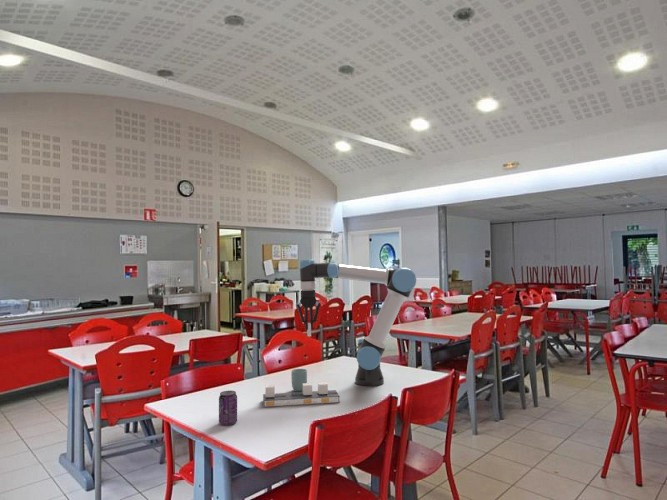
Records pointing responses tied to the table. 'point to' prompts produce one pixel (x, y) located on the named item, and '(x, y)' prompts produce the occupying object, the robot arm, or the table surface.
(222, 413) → the beverage can
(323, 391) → the slider
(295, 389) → the cup
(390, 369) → the table surface
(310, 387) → the slider
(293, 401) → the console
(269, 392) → the slider
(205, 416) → the table surface
